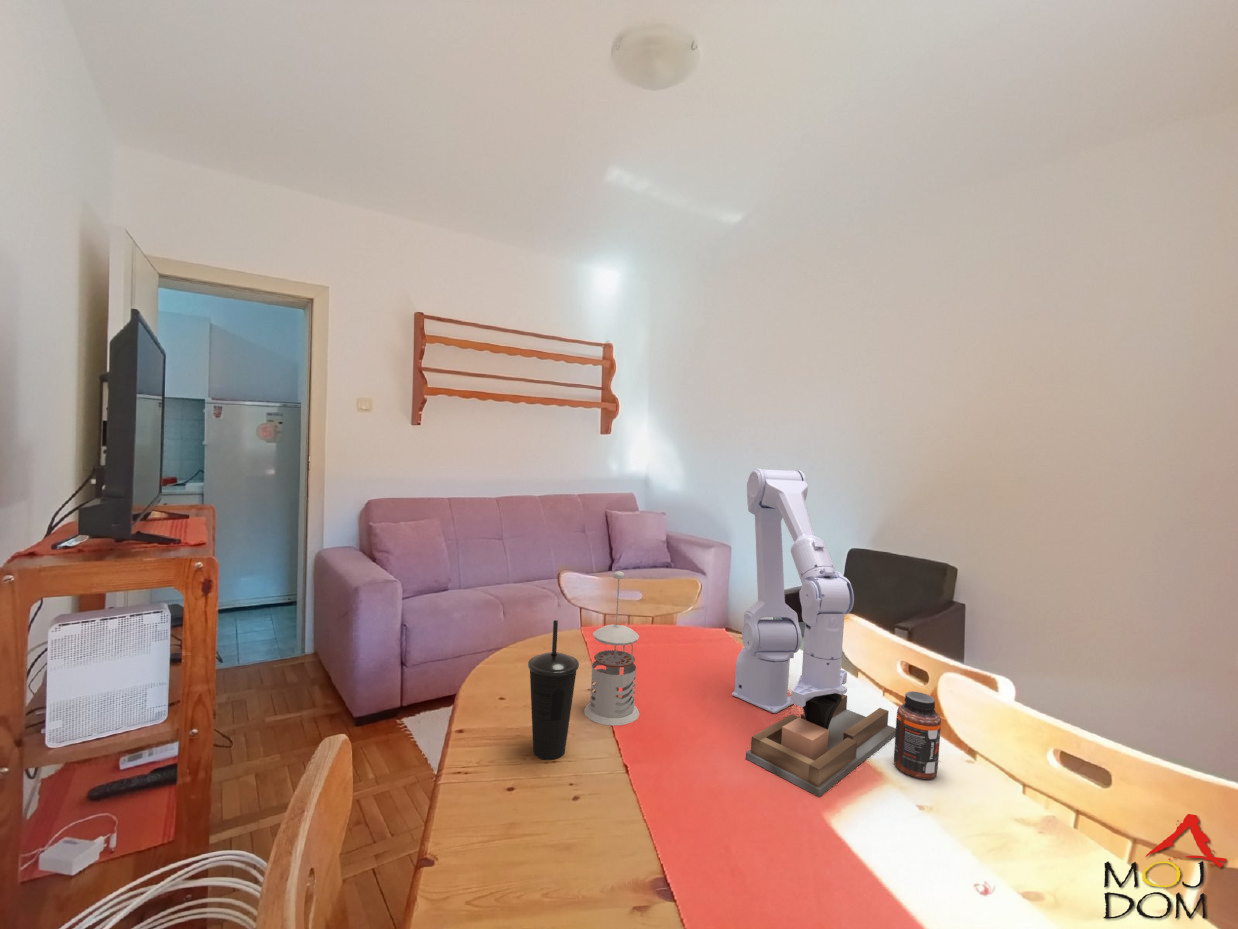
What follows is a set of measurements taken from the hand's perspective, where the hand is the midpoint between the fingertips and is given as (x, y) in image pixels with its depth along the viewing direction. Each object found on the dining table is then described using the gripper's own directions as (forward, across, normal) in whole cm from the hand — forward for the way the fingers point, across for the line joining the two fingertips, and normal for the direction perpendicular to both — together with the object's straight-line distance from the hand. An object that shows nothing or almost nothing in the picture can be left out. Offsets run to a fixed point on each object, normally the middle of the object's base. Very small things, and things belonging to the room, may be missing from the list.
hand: (816, 737), depth 88 cm
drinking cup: (+3, -33, +26) cm, 42 cm away
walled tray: (+2, +3, 0) cm, 4 cm away
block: (+1, -4, 0) cm, 4 cm away
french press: (+3, -16, +30) cm, 34 cm away
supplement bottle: (+3, +8, -12) cm, 15 cm away
